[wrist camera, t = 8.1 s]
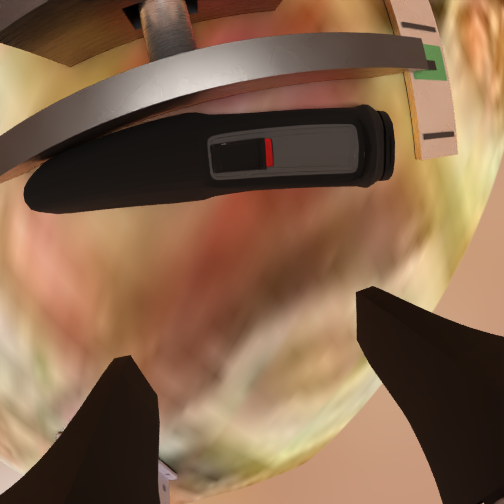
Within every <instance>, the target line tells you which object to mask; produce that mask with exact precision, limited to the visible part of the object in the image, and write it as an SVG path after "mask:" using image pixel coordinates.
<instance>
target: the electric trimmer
mask: <svg viewBox="0 0 504 504" xmlns="http://www.w3.org/2000/svg"><path fill="white" fill-rule="evenodd" d="M208 156H209V157H208ZM394 162H395V139H394V130H393V123H392V121H391V119H390V117H389V115H388V114H387V113H386V112H384V111H376V110H374V109H373V108H372V107H371V106H369V105H360V106H358V107H355V108H323V109H302V110H284V111H270V112H258V113H242V114H218V115H207V114H202V113H184V114H180V115H175V116H171V117H166V118H162V119H158V120H155V121H151V122H147V123H144V124H140V125H137V126H134V127H130V128H127V129H124V130H121V131H118V132H114V133H111V134H108V135H105V136H103V137H100V138H97V139H94V140H91V141H89V142H86V143H83V144H81V145H78V146H75V147H73V148H70V149H68V150H66V151H64V152H62V153H60V154H58V155H56V156H54V157H52V158H50V159H48V160H47V161H45V162H44V163H43V164H42V165H41V166H40V167H39V168H38V169H37V170H36V171H35V172H34V174H33V175H32V176H31V177H30V179H29V180H28V181H27V183H26V185H25V187H24V199H25V202H26V204H27V205H28V206H29V207H30V209H31V210H34V211H38V212H45V213H53V214H64V213H76V212H85V211H93V210H103V209H112V208H123V207H133V206H145V205H157V204H170V203H181V202H189V201H198V200H205V199H208V198H211V197H214V196H219V195H225V194H231V193H238V192H245V191H253V190H268V189H286V188H308V187H340V186H359V187H364V188H367V187H369V186H371V185H372V184H374V183H375V182H376V181H378V180H379V181H384V180H388V179H389V178H390V177H391V176H392V174H393V170H394Z"/></svg>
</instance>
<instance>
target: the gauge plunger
mask: <svg viewBox="0 0 504 504" xmlns="http://www.w3.org/2000/svg"><path fill="white" fill-rule="evenodd" d="M137 4H138V9H139V14H140V19H141V24H142V28H143V33H144V38H145V42H146V47H147V51H148V56H149V60H150V63H148V64H145V65H142V66H139V67H136V68H133V69H131V70H128V71H125V72H122V73H120V74H117V75H115V76H112V77H110V78H107V79H105V80H102V81H100V82H98V83H95V84H93V85H91V86H89V87H86V88H84V89H82V90H80V91H78V92H76V93H74V94H72V95H70V96H68V97H66V98H64V99H62V100H60V101H58V102H56V103H54V104H52V105H50V106H48V107H47V108H45V109H43V110H41V111H39V112H38V113H36V114H34V115H33V116H31V117H29V118H28V119H26V120H24V121H23V122H21V123H19V124H18V125H16V126H15V127H13V128H12V129H10V130H9V131H7V132H6V133H4V134H3V135H1V136H0V183H3V182H5V181H7V180H10V179H12V178H15V177H17V176H20V175H22V174H24V173H26V172H27V171H29V170H31V169H33V168H35V167H37V166H39V165H40V164H42V163H44V162H45V161H47V160H48V159H50V158H52V157H54V156H56V155H58V154H60V153H62V152H64V151H66V150H68V149H70V148H73V147H75V146H78V145H81V144H83V143H86V142H89V141H91V140H93V139H96V138H98V137H100V136H103V135H105V134H108V133H110V132H113V131H115V130H118V129H121V128H123V127H126V126H129V125H131V124H134V123H137V122H140V121H143V120H146V119H148V118H151V117H155V116H158V115H161V114H164V113H167V112H170V111H174V110H177V109H180V108H184V107H187V106H191V105H195V104H198V103H202V102H206V101H210V100H214V99H218V98H223V97H227V96H232V95H236V94H241V93H246V92H251V91H256V90H262V89H267V88H273V87H279V86H286V85H293V84H300V83H308V82H317V81H327V80H339V79H354V78H373V77H378V76H384V75H390V74H397V73H403V72H411V71H419V70H425V71H434V70H437V68H436V64H435V61H433V60H427V59H426V55H425V51H424V47H423V43H422V39H421V38H416V37H408V36H399V35H389V34H375V33H349V32H331V33H304V34H290V35H280V36H270V37H262V38H255V39H248V40H242V41H236V42H230V43H225V44H220V45H215V46H210V47H206V48H201V49H197V46H196V42H195V38H194V34H193V30H192V26H191V22H190V18H189V13H188V9H187V5H186V1H185V0H146V1H143V2H140V3H137Z"/></svg>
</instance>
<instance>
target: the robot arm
mask: <svg viewBox="0 0 504 504" xmlns="http://www.w3.org/2000/svg"><path fill="white" fill-rule="evenodd" d="M356 311H357V341H358V343H359V345H360V347H361V349H362V351H363V353H364V355H365V357H366V358H367V360H368V362H369V364H370V365H371V367H372V368H373V370H374V371H375V373H376V374H377V376H378V377H379V378H380V380H381V381H382V383H383V384H384V385H385V387H386V388H387V390H388V391H389V393H390V394H391V395H392V397H393V398H394V400H395V401H396V403H397V404H398V406H399V407H400V408H401V410H402V411H403V413H404V415H405V416H406V418H407V419H408V421H409V423H410V425H411V427H412V429H413V431H414V433H415V435H416V437H417V439H418V441H419V443H420V445H421V447H422V449H423V451H424V454H425V456H426V458H427V461H428V463H429V465H430V468H431V471H432V473H433V476H434V478H435V481H436V484H437V487H438V490H439V493H440V496H441V499H442V502H443V504H482V503H483V502H484V504H504V337H503V336H498V335H494V334H490V333H487V332H483V331H480V330H477V329H473V328H470V327H467V326H464V325H461V324H459V323H456V322H453V321H451V320H448V319H446V318H443V317H441V316H438V315H436V314H434V313H431V312H429V311H427V310H424V309H422V308H420V307H418V306H416V305H413V304H411V303H409V302H407V301H405V300H403V299H401V298H399V297H396V296H394V295H392V294H390V293H388V292H386V291H383V290H381V289H379V288H376V287H374V286H371V287H369V288H366V289H363V290H360V291H358V292H356ZM159 427H160V421H159V408H158V397H157V394H156V393H155V391H154V390H153V389H152V387H151V386H150V384H149V383H148V381H147V380H146V378H145V377H144V375H143V374H142V372H141V371H140V369H139V368H138V366H137V365H136V363H135V362H134V360H133V358H132V357H131V355H129V356H124V357H119V358H114V359H113V361H112V362H111V363H110V365H109V366H108V367H107V369H106V370H105V372H104V373H103V374H102V376H101V377H100V379H99V380H98V382H97V383H96V385H95V386H94V388H93V389H92V391H91V392H90V394H89V395H88V397H87V398H86V400H85V401H84V403H83V404H82V406H81V407H80V409H79V410H78V412H77V413H76V414H75V416H74V417H73V419H72V420H71V421H70V423H69V424H68V426H67V427H66V428H65V430H64V431H63V433H62V434H57V436H56V438H57V440H56V442H55V443H54V444H53V445H52V446H51V448H50V449H49V450H48V451H47V452H46V454H45V455H44V456H43V457H42V458H41V459H40V460H39V461H38V462H37V463H36V464H35V465H34V466H33V467H32V468H31V469H30V470H29V471H28V472H27V473H26V474H25V475H24V476H23V477H22V478H21V479H20V480H19V481H17V482H16V483H15V484H14V485H13V486H12V487H10V488H9V489H8V490H6V491H5V492H4V493H2V494H1V495H0V504H170V496H169V480H175V479H177V474H175V473H174V472H173V471H172V470H171V469H169V468H168V467H167V466H166V465H165V464H164V463H162V462H161V461H160V460H159Z"/></svg>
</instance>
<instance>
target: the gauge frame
mask: <svg viewBox="0 0 504 504" xmlns="http://www.w3.org/2000/svg"><path fill="white" fill-rule="evenodd" d="M143 1H146V0H0V43H3V44H6V45H9V46H12V47H15V48H19V49H22V50H25V51H28V52H31V53H34V54H36V55H39V56H42V57H45V58H48V59H50V60H53V61H56V62H58V63H61V64H63V65H66V66H69V67H71V66H73V65H75V64H77V63H79V62H81V61H84V60H86V59H88V58H90V57H92V56H95V55H97V54H99V53H102V52H104V51H106V50H109V49H111V48H114V47H116V46H119V45H122V44H124V43H127V42H130V41H133V40H135V39H138V38H141V37H144V33H143V28H142V24H141V19H140V14H139V9H138V4H137V3H140V2H143ZM185 1H186V5H187V9H188V13H189V18H190V22H191V23H195V22H199V21H204V20H209V19H214V18H219V17H225V16H231V15H237V14H244V13H252V12H261V11H271V10H275V9H276V8H277V7H278V5H279V4H280V3H281V1H282V0H185ZM384 2H385V5H386V8H387V11H388V14H389V17H390V21H391V24H392V27H393V31H394V35H399V36H408V37H416V38H421V39H422V43H423V47H424V51H425V55H426V59H427V60H433V61H435V64H436V68H437V70H434V71H425V70H419V71H411V72H404V77H405V82H406V87H407V93H408V99H409V105H410V111H411V118H412V126H413V134H414V144H415V155H416V159H419V160H426V159H432V158H438V157H444V156H450V155H457V154H458V151H457V136H456V125H455V116H454V107H453V100H452V93H451V87H450V81H449V76H448V71H447V66H446V61H445V57H444V52H443V48H442V44H441V40H440V36H439V33H438V29H437V26H436V22H435V19H434V16H433V13H432V9H431V6H430V4H429V1H428V0H384Z"/></svg>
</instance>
